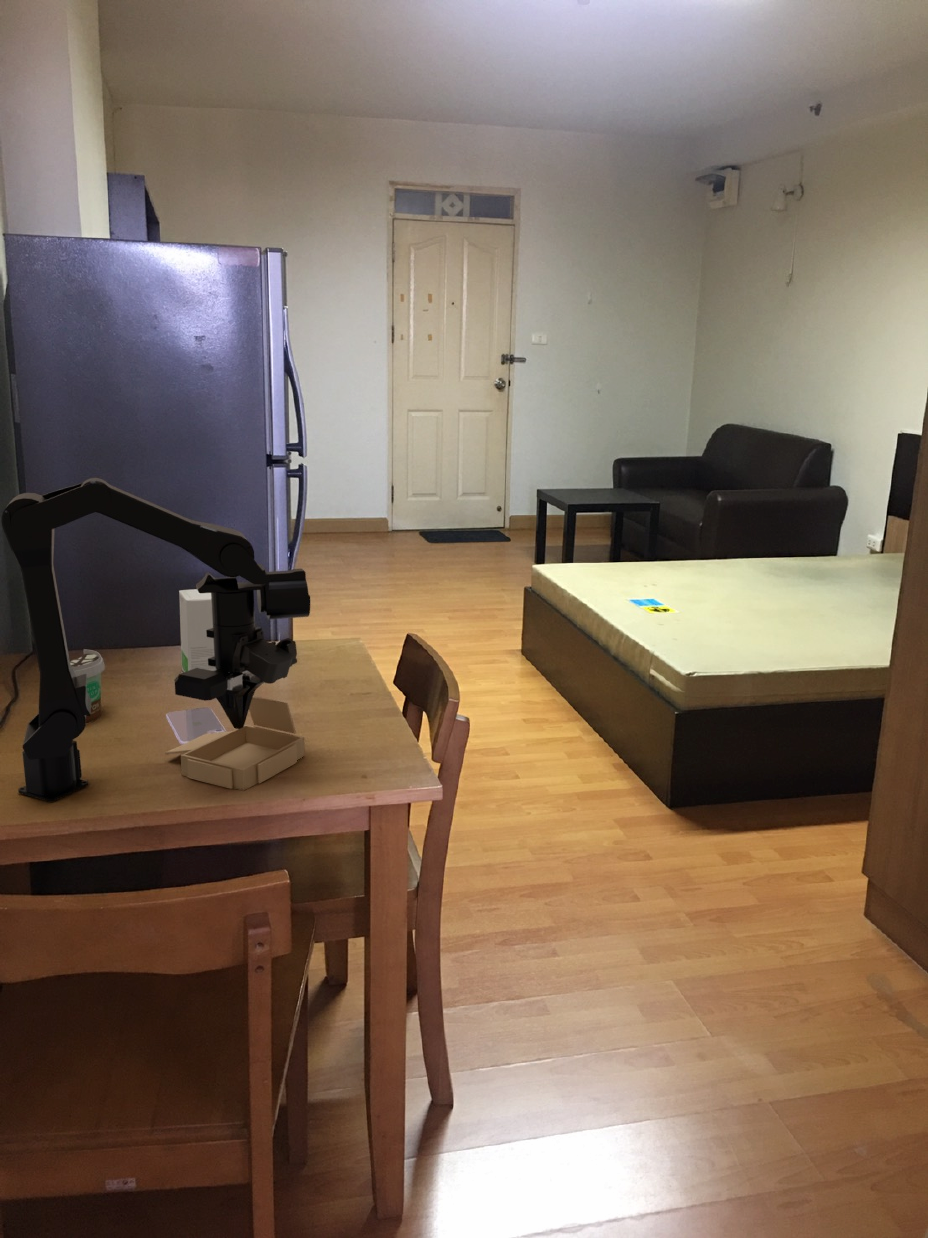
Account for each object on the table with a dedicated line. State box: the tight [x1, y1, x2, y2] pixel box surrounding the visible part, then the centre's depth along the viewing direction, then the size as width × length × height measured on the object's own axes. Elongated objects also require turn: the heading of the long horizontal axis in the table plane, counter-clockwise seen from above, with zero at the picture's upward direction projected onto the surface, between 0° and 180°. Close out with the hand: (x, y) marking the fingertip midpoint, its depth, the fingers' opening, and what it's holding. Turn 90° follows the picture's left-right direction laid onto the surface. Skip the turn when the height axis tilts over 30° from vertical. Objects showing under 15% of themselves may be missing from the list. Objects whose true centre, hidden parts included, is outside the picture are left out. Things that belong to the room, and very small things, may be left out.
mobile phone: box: [165, 706, 227, 745], centre depth 155 cm, size 8×1×15 cm
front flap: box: [248, 695, 297, 735], centre depth 144 cm, size 1×8×6 cm, turn 63°
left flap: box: [165, 730, 232, 755], centre depth 143 cm, size 9×1×6 cm
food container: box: [69, 648, 106, 725], centre depth 156 cm, size 12×6×10 cm, turn 168°
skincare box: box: [178, 588, 217, 673], centre depth 180 cm, size 8×7×16 cm
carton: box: [180, 724, 306, 792], centre depth 139 cm, size 15×12×3 cm
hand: (238, 728), depth 137 cm, fingers closed
